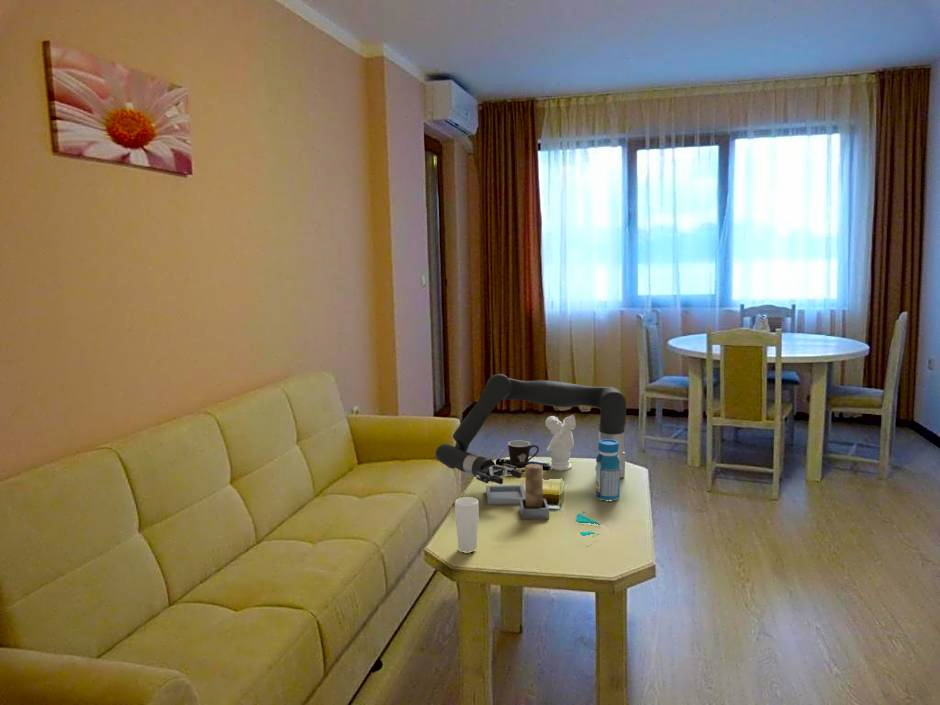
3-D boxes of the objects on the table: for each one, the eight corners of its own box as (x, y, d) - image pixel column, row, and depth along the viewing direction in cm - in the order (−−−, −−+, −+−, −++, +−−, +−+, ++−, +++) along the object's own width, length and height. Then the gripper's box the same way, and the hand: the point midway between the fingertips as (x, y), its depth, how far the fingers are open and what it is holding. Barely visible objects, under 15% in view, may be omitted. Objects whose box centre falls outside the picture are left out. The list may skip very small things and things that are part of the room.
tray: (522, 491, 247) (522, 484, 247) (526, 505, 234) (526, 498, 234) (486, 492, 247) (486, 485, 247) (487, 506, 234) (487, 499, 234)
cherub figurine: (542, 468, 272) (541, 413, 269) (557, 459, 282) (557, 406, 279) (570, 473, 265) (570, 417, 262) (585, 464, 275) (585, 410, 272)
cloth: (605, 552, 201) (605, 544, 201) (558, 546, 206) (558, 538, 205) (616, 517, 225) (616, 510, 225) (574, 512, 230) (574, 506, 229)
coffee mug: (506, 471, 268) (506, 446, 267) (509, 464, 277) (509, 439, 275) (537, 472, 266) (537, 447, 265) (538, 465, 275) (539, 441, 273)
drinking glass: (459, 557, 198) (458, 506, 195) (453, 547, 204) (452, 498, 202) (482, 553, 200) (481, 504, 197) (475, 543, 206) (474, 495, 204)
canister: (541, 510, 229) (541, 463, 226) (543, 517, 223) (543, 469, 221) (524, 511, 229) (524, 464, 226) (526, 517, 223) (526, 469, 220)
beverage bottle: (609, 504, 235) (610, 447, 231) (589, 497, 241) (590, 441, 238) (625, 498, 240) (626, 442, 236) (605, 491, 246) (606, 436, 243)
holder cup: (545, 510, 230) (545, 498, 230) (549, 520, 222) (549, 508, 221) (519, 510, 230) (519, 499, 230) (522, 521, 222) (522, 509, 221)
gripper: (463, 460, 239) (495, 472, 227) (493, 452, 248) (526, 462, 236) (463, 481, 240) (496, 494, 228) (493, 472, 249) (526, 483, 237)
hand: (511, 478), depth 232 cm, fingers open, 8 cm apart
